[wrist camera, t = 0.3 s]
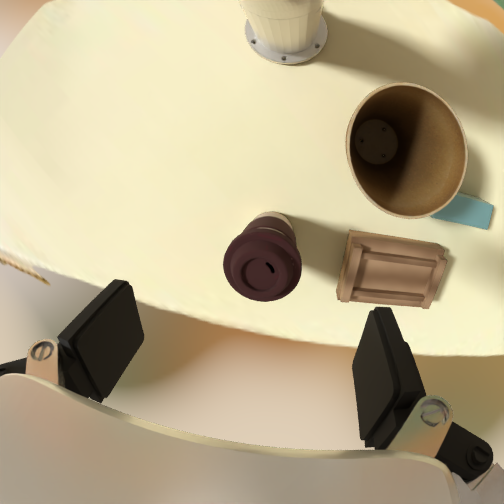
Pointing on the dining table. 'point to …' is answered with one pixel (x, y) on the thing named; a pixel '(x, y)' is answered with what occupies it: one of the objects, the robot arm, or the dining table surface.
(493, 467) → the robot arm
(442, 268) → the display cradle
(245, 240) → the coffee cup
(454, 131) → the plant pot
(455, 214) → the teal block
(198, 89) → the dining table surface
